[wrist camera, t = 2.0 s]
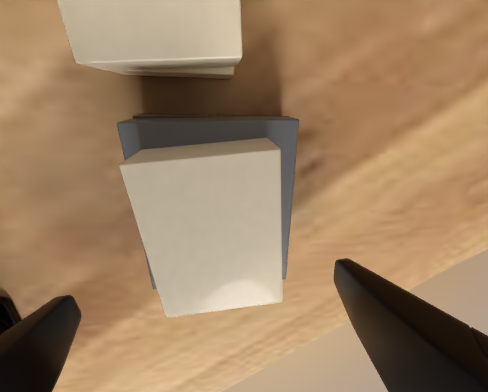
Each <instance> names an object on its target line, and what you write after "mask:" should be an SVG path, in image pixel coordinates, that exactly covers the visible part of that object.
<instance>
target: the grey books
mask: <svg viewBox="0 0 488 392" xmlns="http://www.w3.org/2000/svg"><path fill="white" fill-rule="evenodd" d="M117 126H118V131H119V135H120V140H121V144H122V149H123V154H124V158H125V160H127V159H128V158H130V157H131V156H133V155H134V154H136V153H137V152H139V151H140V150H143V149H153V148H164V147H174V146H185V145H195V144H206V143H216V142H227V141H237V140H248V139H258V138H268V139H269V140H271V141H272V142H273V143H274V144H275V145H276V146H278V147H279V148H280V150H281V222H282V279H286V269H287V257H288V245H289V233H290V221H291V209H292V197H293V185H294V174H295V162H296V150H297V138H298V126H299V120H298V119H295V118H292V117H288V116H247V115H202V114H156V113H143V114H139V115H134V116H133V119H129V120H125V121H121V122H118V123H117ZM145 254H146V252H145ZM146 259H147V263H148V268H149V272H150V277H151V281H152V286H153V289H157V288H156V284H155V281H154V278H153V275H152V271H151V268H150V265H149V262H148V258H147V255H146Z"/></svg>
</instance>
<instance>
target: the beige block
mask: <svg viewBox="0 0 488 392" xmlns="http://www.w3.org/2000/svg"><path fill="white" fill-rule="evenodd" d="M57 3H58V6H59V10H60V13H61V16H62V20H63V23H64V27H65V30H66V33H67V37H68V40H69V44H70V47H71V50H72V54H73V57H74V61H75V63H77V64H81V65H85V66H89V67H93V68H98V69H102V70H106V71H111V72H115V73H119V74H124V75H141V76H168V77H194V78H220V79H231V78H232V77H233V75H234V66H238V64H239V62H240V60H241V58H242V56H243V55H242V29H241V3H240V0H57Z"/></svg>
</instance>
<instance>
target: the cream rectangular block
mask: <svg viewBox="0 0 488 392" xmlns="http://www.w3.org/2000/svg"><path fill="white" fill-rule="evenodd" d="M119 167H120V171H121V174H122V177H123V180H124V184H125V187H126V190H127V193H128V197H129V200H130V203H131V206H132V210H133V213H134V216H135V219H136V223H137V226H138V229H139V232H140V236H141V239H142V242H143V245H144V249H145V252H146V255H147V258H148V262H149V265H150V268H151V271H152V275H153V278H154V281H155V284H156V288H157V291H158V294H159V297H160V301H161V304H162V307H163V310H164V314H165V317H166V318H169V317H176V316H184V315H191V314H198V313H205V312H213V311H220V310H227V309H234V308H242V307H249V306H256V305H263V304H271V303H278V302H282V222H281V150H280V148H279V147H278V146H276V145H275V144H274V143H273V142H272V141H271V140H269V139H268V138H258V139H248V140H237V141H227V142H216V143H206V144H195V145H185V146H174V147H164V148H153V149H143V150H140V151H139V152H137V153H136V154H134V155H133V156H131V157H130V158H128V159H127V160H125V161H124V162H122V163H121V164H119Z"/></svg>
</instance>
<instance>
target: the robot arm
mask: <svg viewBox="0 0 488 392" xmlns="http://www.w3.org/2000/svg"><path fill="white" fill-rule="evenodd" d="M334 283H335V286H336V288H337V290H338V293H339V295H340V297H341V300H342V302H343V305H344V307H345V309H346V312H347V314H348V316H349V319H350V321H351V323H352V325H353V327H354V329H355V331H356V333H357V335H358V337H359V339H360V341H361V342H362V344H363V346H364V348H365V350H366V352H367V353H368V355H369V357H370V359H371V361H372V362H373V364H374V366H375V368H376V370H377V372H378V373H379V375H380V377H381V379H382V381H383V382H384V384H385V386H386V388H387V390H388V392H488V336H487V335H485V334H483V333H481V332H480V331H478V330H476V329H474V328H470V327H469V326H468V325H467V324H465V323H463V322H462V321H460V320H458V319H456V318H454V317H452V316H451V315H449V314H447V313H445V312H444V311H442V310H440V309H438V308H436V307H434V306H433V305H431V304H429V303H427V302H426V301H424V300H422V299H420V298H418V297H417V296H415V295H413V294H411V293H409V292H408V291H406V290H404V289H402V288H400V287H399V286H397V285H395V284H393V283H391V282H390V281H388V280H386V279H384V278H382V277H381V276H379V275H377V274H375V273H373V272H372V271H370V270H368V269H366V268H365V267H363V266H361V265H359V264H357V263H356V262H354V261H352V260H350V259H347V258H345V259H338V260H336V262H335V269H334ZM80 320H81V311H80V309H79V307H78V305H77V303H76V301H75V299H74V298H73V297H72V296H71V295H66V296H59V297H56V298H54V299H52V300H51V301H49V302H48V303H47V304H45V305H44V306H42V307H41V308H39V309H38V310H36V311H35V312H33V313H32V314H30V315H29V316H27V317H26V318H24V319H23V320H21V321H20V320H19V318H18V316H17V314H16V313H15V311H14V309H13V307H12V305H11V303H10V302H9V301H8V300H7V299H3V298H0V392H52V391H53V389H54V386H55V384H56V382H57V380H58V378H59V376H60V373H61V371H62V369H63V366H64V364H65V361H66V358H67V356H68V353H69V350H70V347H71V345H72V342H73V339H74V337H75V334H76V331H77V329H78V326H79V323H80Z"/></svg>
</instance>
